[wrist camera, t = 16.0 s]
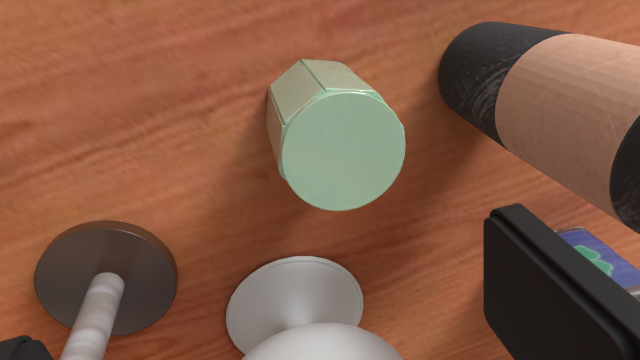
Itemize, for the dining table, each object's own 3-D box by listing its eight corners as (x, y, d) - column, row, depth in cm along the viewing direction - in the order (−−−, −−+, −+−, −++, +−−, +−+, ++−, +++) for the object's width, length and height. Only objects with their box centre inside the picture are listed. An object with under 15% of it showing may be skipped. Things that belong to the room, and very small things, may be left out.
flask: (497, 274, 44) (574, 360, 35) (495, 249, 43) (574, 331, 33) (587, 244, 45) (686, 320, 35) (587, 219, 43) (691, 291, 34)
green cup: (246, 106, 33) (253, 152, 25) (323, 38, 32) (357, 63, 24) (309, 172, 36) (334, 233, 28) (381, 112, 35) (428, 157, 27)
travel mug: (490, 134, 38) (732, 289, 20) (414, 94, 35) (616, 230, 17) (548, 47, 35) (879, 133, 18) (472, -3, 33) (772, 37, 15)
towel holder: (15, 238, 34) (-104, 400, 21) (155, 206, 35) (118, 343, 22) (70, 339, 38) (-3, 522, 26) (192, 308, 39) (179, 470, 27)
